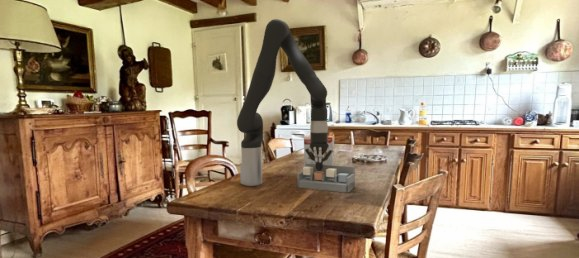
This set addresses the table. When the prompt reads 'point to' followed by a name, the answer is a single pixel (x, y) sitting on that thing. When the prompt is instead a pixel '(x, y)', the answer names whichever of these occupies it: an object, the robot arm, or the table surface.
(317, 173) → the key terracotta
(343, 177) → the key blue
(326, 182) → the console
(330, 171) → the ivory key
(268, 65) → the robot arm
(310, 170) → the ivory key
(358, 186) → the table surface
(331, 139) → the cracker box
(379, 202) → the table surface
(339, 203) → the table surface
